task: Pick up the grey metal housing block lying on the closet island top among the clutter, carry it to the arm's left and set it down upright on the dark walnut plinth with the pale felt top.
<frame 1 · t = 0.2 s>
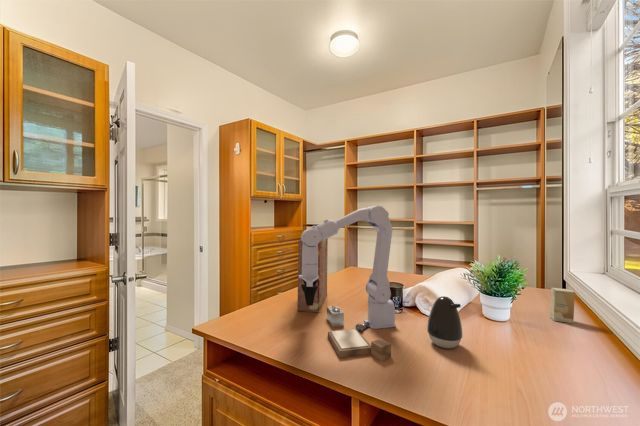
hand: (309, 301, 96), 10 cm above the worktop, fingers open, 7 cm apart
walnut block: (380, 356, 79), on the worktop
stand: (348, 345, 85), on the worktop
housing: (335, 322, 103), on the worktop
pump dispenser: (444, 345, 86), on the worktop
skincare box: (561, 320, 107), on the worktop
book: (313, 302, 126), on the worktop
loose bolt: (364, 328, 98), on the worktop, touching arm
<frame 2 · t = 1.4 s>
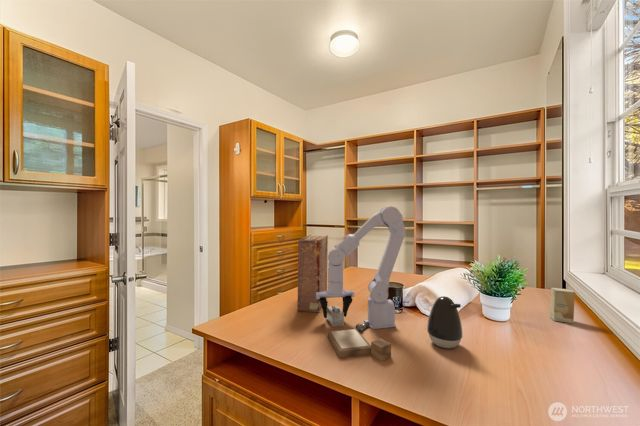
hand: (334, 316, 103), 2 cm above the worktop, fingers open, 7 cm apart
nothing on the worktop moved.
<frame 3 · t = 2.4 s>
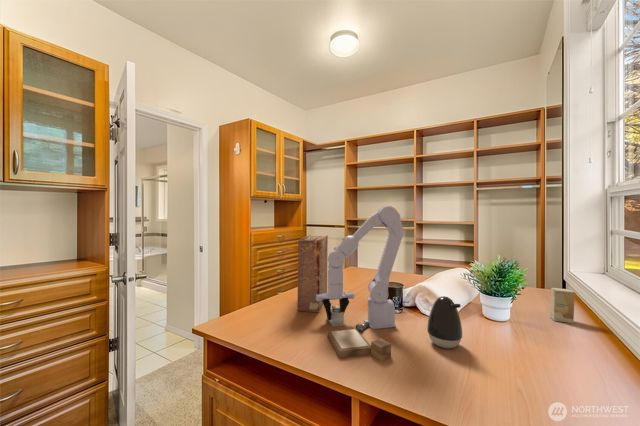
hand: (335, 318, 103), 1 cm above the worktop, fingers closed on housing, 4 cm apart
housing: (334, 322, 103), on the worktop, touching gripper
everything else where it was.
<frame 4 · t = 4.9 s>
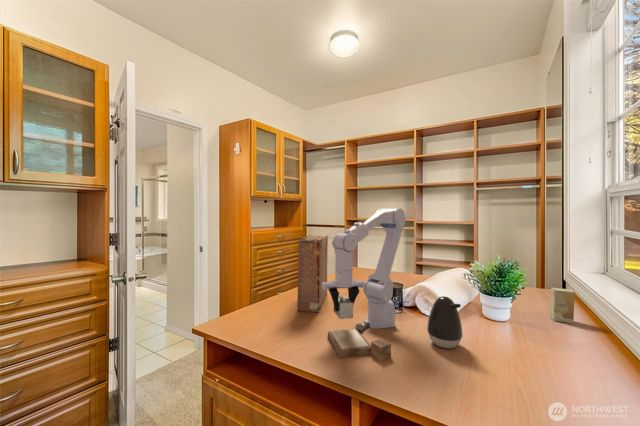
hand: (343, 309, 91), 9 cm above the worktop, fingers closed on housing, 4 cm apart
housing: (342, 314, 92), point 7 cm above the worktop, touching gripper
everything else where it was.
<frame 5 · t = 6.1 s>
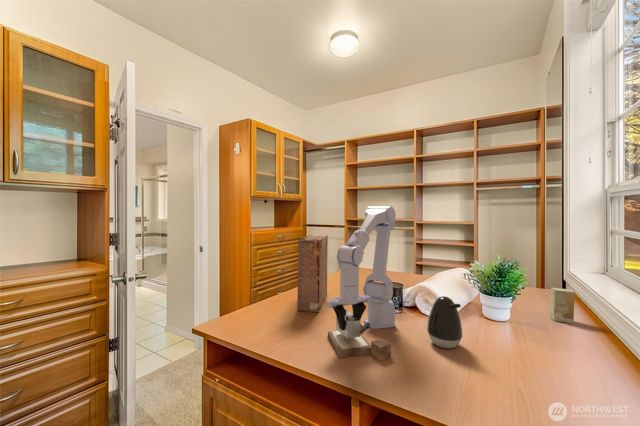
hand: (348, 327, 85), 6 cm above the worktop, fingers closed on housing, 4 cm apart
housing: (347, 332, 86), point 4 cm above the worktop, touching gripper
everything else where it was.
when the fingers open (4 cm above the worktop, at t = 7.2 s): housing stays where it is, resting on stand.
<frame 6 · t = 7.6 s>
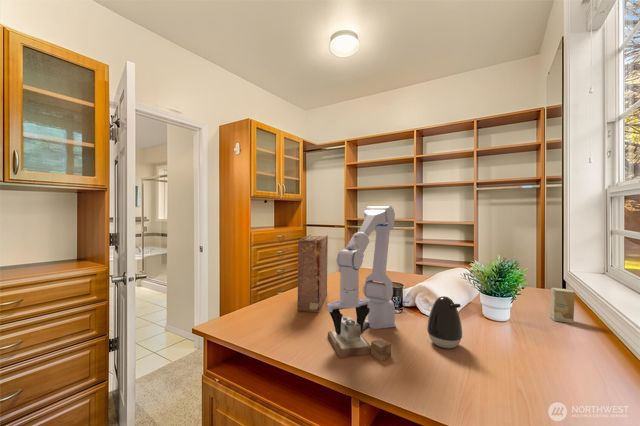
hand: (348, 331, 85), 4 cm above the worktop, fingers open, 7 cm apart
housing: (348, 337, 86), point 2 cm above the worktop, touching stand
everything else where it was.
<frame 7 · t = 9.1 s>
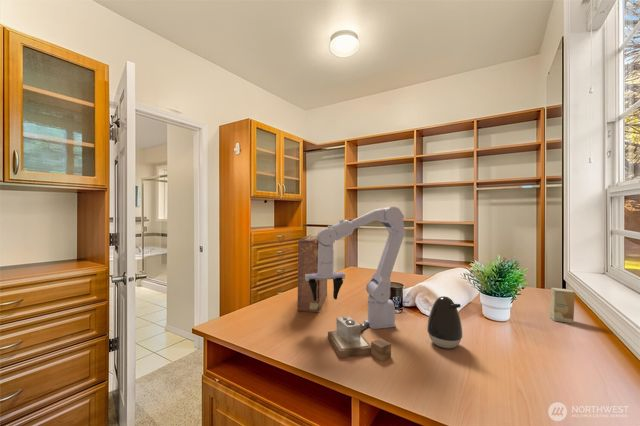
hand: (325, 299, 99), 10 cm above the worktop, fingers open, 7 cm apart
nothing on the worktop moved.
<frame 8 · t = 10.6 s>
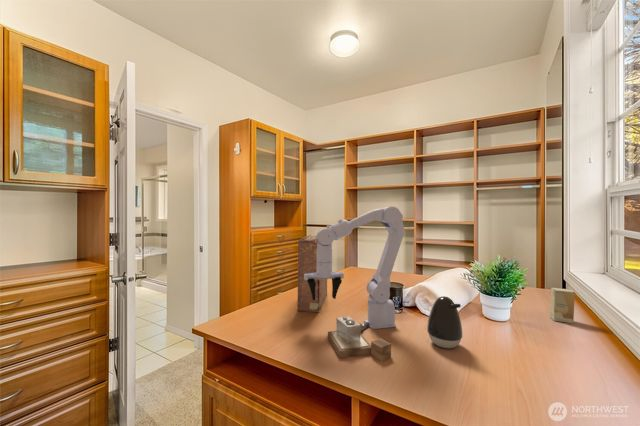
hand: (323, 298, 100), 10 cm above the worktop, fingers open, 7 cm apart
nothing on the worktop moved.
at the end: housing inside the target area on the stand (0.5 cm from its centre), point 2.3 cm above the stand's base; housing tilted 0°; the gripper is holding nothing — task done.
